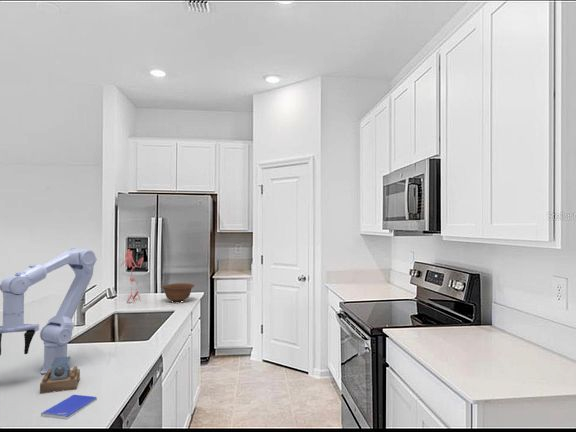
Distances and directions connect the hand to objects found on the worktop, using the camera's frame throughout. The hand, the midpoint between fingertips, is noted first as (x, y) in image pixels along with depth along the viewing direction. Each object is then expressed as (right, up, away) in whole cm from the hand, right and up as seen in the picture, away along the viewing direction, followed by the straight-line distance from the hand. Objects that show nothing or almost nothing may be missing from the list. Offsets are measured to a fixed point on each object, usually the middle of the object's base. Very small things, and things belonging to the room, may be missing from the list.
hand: (12, 354), depth 135 cm
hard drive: (+28, -10, -17) cm, 34 cm away
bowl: (+16, -12, +141) cm, 142 cm away
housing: (+16, -7, -1) cm, 18 cm away
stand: (+16, -10, -1) cm, 19 cm away
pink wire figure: (-16, -12, +140) cm, 142 cm away
